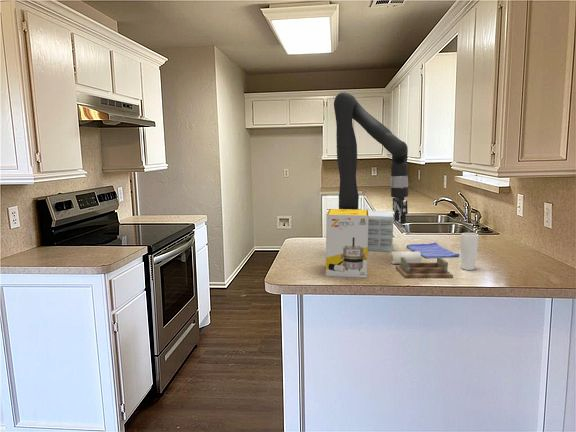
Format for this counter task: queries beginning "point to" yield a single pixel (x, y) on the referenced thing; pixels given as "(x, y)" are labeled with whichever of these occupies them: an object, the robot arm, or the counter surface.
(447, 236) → the counter surface
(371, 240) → the supplement box
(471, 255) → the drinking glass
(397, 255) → the roll
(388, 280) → the counter surface
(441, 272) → the cradle
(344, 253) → the packaging box
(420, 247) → the dish towel
